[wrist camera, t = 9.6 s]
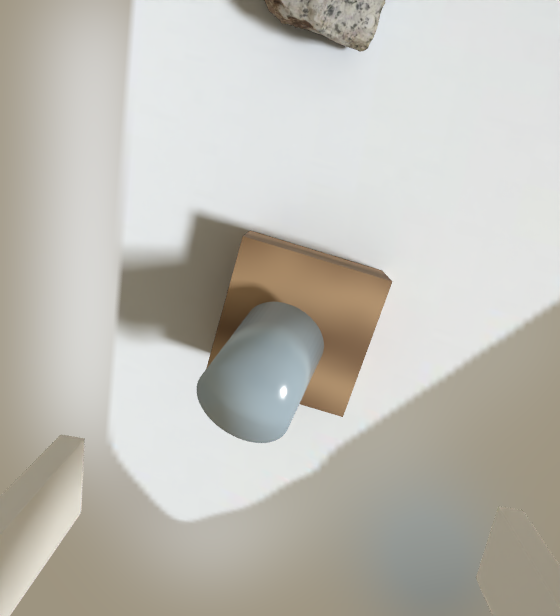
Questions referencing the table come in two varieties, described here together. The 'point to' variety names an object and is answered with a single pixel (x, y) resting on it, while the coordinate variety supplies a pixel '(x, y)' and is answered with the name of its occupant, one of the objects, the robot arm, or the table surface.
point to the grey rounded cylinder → (262, 372)
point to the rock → (332, 18)
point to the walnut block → (310, 307)
